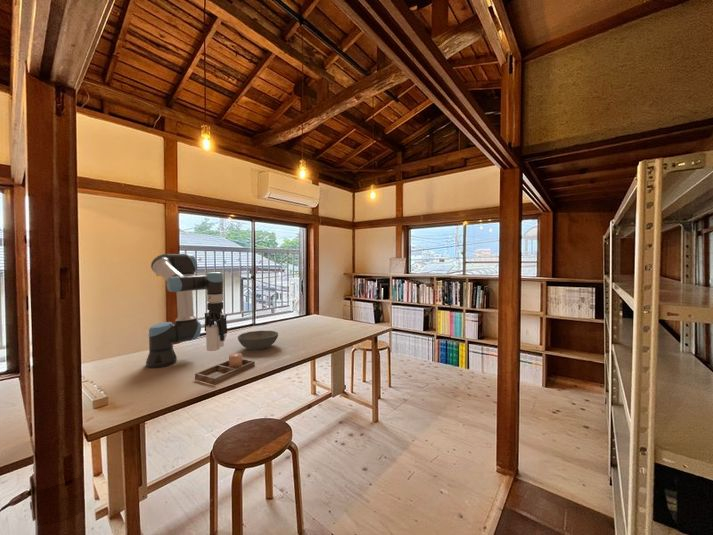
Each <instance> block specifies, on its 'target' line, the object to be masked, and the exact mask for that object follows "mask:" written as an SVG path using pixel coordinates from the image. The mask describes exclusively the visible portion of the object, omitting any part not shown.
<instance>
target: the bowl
mask: <svg viewBox="0 0 713 535" xmlns="http://www.w3.org/2000/svg"><path fill="white" fill-rule="evenodd" d="M278 337H279V332H277V331H274V330H254V331H247V332H244V333H241V334H239V335H238V336H237V339H238V342H239V344H240V345H241V346H242V347H244V348H246V349H247V350H253V351H257V350H258V351H261V350H264V349H267V348H269V347H271V346H272V345H273V344H274V343H275V342H276V341H277V339H278Z"/></svg>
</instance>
